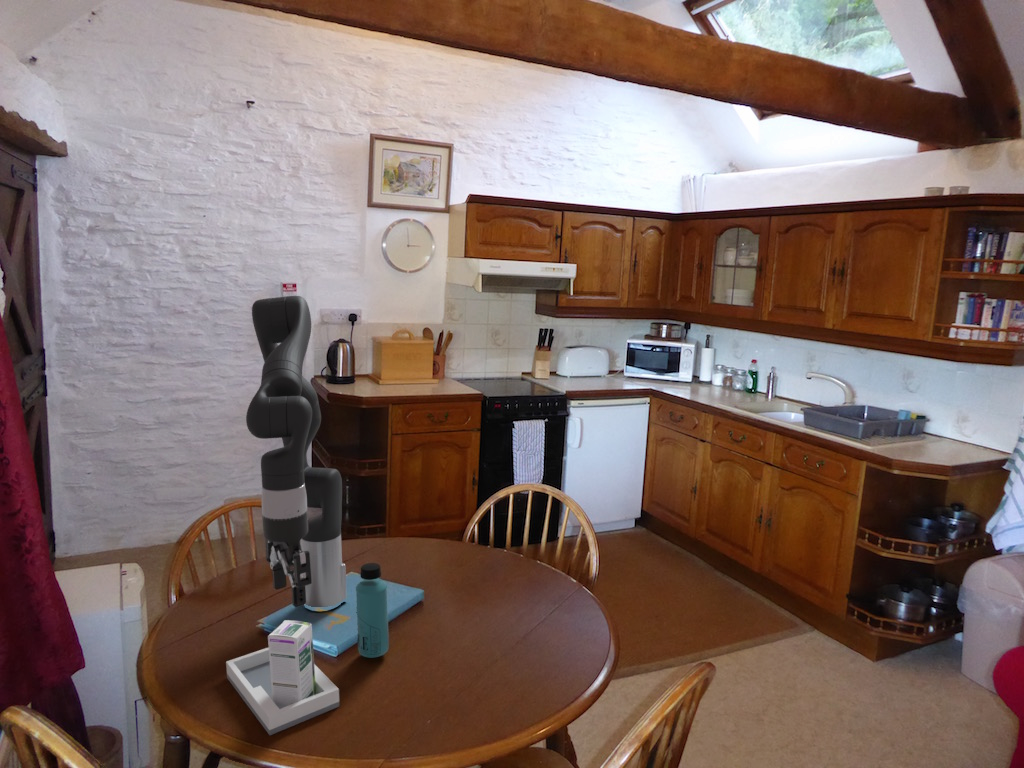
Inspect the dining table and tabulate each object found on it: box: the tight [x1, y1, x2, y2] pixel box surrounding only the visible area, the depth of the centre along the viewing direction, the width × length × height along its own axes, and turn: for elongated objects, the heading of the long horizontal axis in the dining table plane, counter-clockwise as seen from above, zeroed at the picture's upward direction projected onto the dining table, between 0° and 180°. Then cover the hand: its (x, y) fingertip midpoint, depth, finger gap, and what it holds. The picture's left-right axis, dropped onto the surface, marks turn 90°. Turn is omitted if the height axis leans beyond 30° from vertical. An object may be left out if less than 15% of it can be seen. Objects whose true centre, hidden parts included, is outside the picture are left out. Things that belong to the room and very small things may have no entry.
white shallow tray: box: [225, 646, 340, 736], centre depth 135 cm, size 13×22×4 cm, turn 40°
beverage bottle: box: [355, 562, 390, 659], centre depth 146 cm, size 6×7×20 cm
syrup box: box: [267, 619, 316, 709], centre depth 129 cm, size 6×6×14 cm
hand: (289, 596), depth 127 cm, fingers open, 8 cm apart
